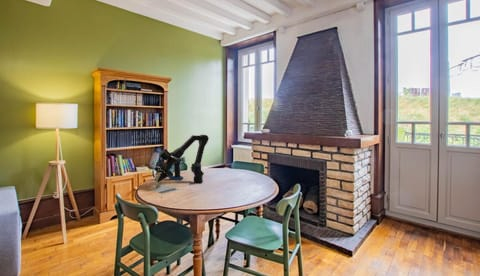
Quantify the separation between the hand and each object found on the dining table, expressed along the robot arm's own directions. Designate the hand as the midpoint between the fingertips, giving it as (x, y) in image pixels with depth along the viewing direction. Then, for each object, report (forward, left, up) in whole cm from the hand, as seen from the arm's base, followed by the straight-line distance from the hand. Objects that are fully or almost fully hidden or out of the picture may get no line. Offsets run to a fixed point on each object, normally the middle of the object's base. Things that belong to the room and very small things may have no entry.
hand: (156, 181), depth 192 cm
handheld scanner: (-5, -32, -7) cm, 33 cm away
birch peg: (-1, -1, -5) cm, 5 cm away
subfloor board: (-6, +2, -7) cm, 9 cm away
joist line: (-11, +6, -5) cm, 14 cm away
